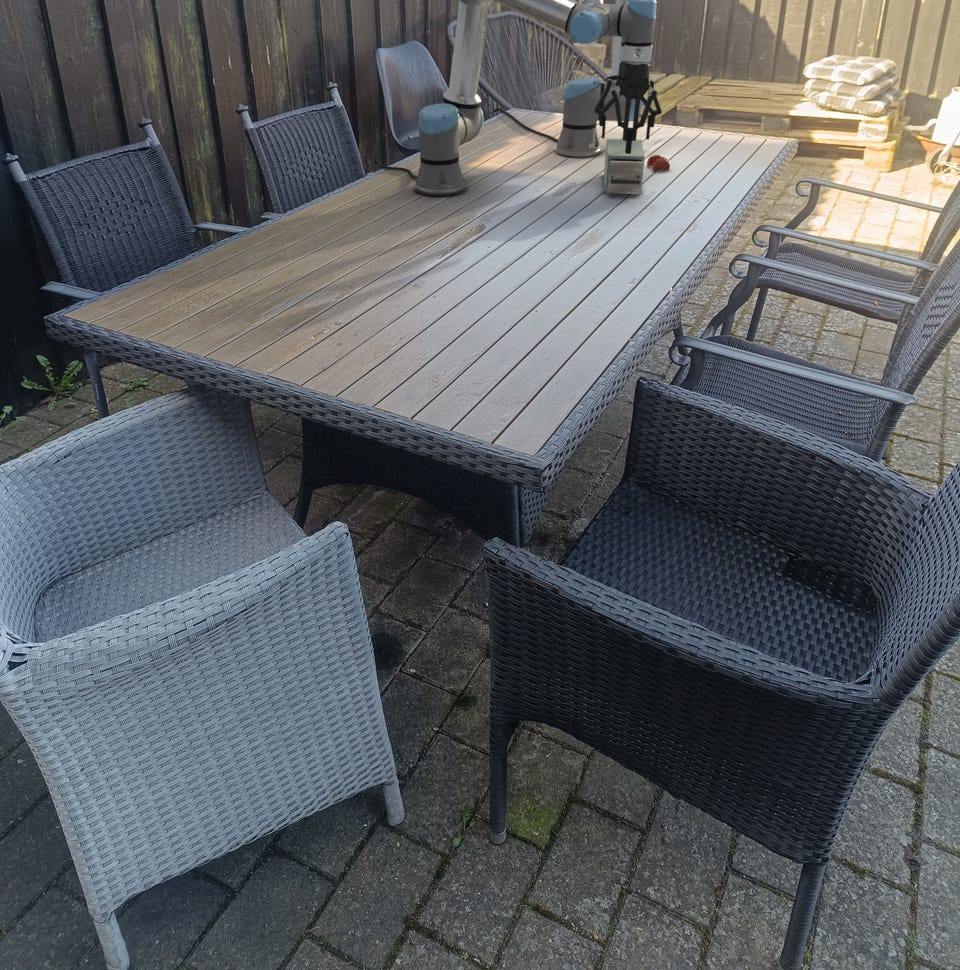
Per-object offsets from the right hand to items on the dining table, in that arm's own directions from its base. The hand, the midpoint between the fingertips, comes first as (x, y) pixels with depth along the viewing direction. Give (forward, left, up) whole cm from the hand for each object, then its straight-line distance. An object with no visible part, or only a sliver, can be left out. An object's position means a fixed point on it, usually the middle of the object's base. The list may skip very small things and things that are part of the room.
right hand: (625, 138), depth 260 cm
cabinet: (+5, -2, -13) cm, 14 cm away
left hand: (+19, -7, +1) cm, 21 cm away
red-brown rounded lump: (-8, +16, -13) cm, 22 cm away
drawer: (+11, -4, -12) cm, 16 cm away
